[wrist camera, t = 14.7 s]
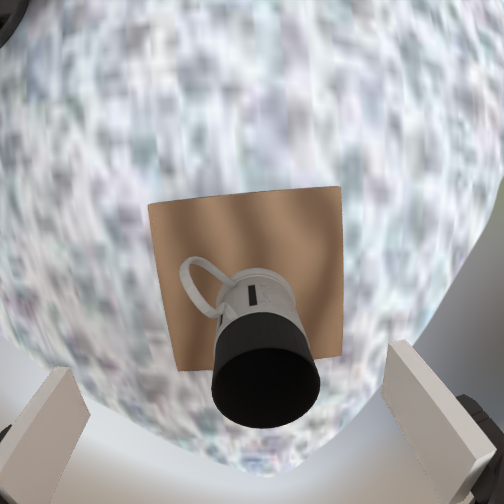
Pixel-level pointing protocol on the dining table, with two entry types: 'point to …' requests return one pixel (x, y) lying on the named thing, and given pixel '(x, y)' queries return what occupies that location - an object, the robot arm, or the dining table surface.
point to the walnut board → (251, 261)
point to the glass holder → (257, 347)
